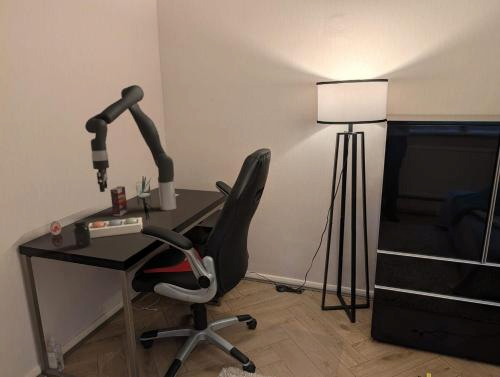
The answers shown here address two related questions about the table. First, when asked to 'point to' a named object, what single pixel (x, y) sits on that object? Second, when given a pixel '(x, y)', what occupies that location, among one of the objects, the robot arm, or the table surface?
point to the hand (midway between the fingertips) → (103, 190)
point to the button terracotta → (98, 224)
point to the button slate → (114, 222)
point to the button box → (115, 229)
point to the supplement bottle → (81, 234)
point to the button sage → (131, 221)
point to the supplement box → (118, 200)
